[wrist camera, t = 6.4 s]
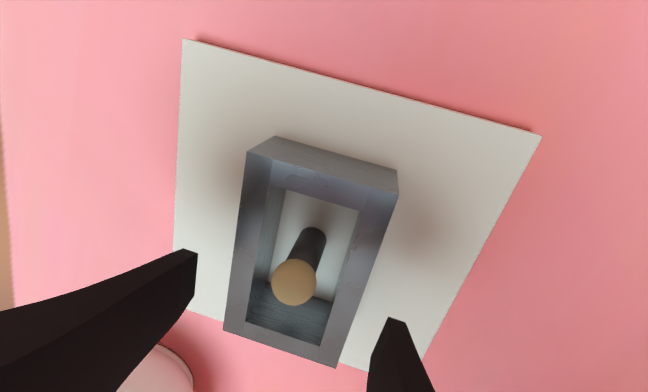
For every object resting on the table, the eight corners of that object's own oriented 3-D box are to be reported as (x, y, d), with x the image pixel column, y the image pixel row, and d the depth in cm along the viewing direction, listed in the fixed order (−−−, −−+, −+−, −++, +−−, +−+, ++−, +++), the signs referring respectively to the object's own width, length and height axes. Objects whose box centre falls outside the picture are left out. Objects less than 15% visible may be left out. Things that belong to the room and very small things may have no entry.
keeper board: (406, 370, 19) (413, 474, 14) (179, 293, 20) (113, 363, 15) (531, 131, 13) (619, 168, 8) (195, 40, 14) (93, 23, 9)
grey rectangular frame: (343, 320, 17) (335, 368, 14) (248, 289, 17) (222, 329, 15) (396, 170, 13) (399, 195, 11) (274, 135, 14) (246, 151, 11)
